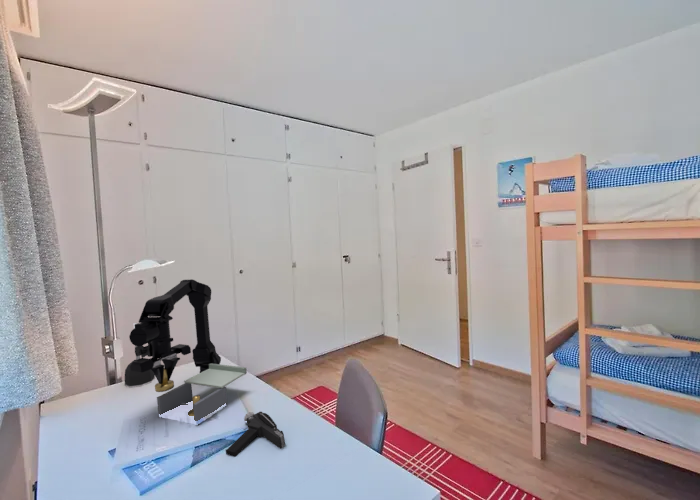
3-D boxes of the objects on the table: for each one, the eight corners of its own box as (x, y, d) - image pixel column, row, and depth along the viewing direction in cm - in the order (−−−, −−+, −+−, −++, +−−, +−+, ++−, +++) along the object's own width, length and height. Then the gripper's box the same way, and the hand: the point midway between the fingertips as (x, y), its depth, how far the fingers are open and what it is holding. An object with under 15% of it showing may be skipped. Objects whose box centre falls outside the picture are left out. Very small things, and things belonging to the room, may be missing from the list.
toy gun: (237, 460, 88) (289, 430, 97) (208, 425, 104) (255, 402, 113) (240, 477, 89) (291, 445, 98) (211, 439, 104) (258, 415, 114)
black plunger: (124, 381, 149) (119, 323, 148) (153, 374, 155) (149, 318, 154) (124, 390, 140) (119, 328, 138) (156, 382, 146) (151, 323, 144)
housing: (190, 400, 127) (188, 381, 127) (227, 407, 121) (225, 386, 121) (158, 419, 115) (156, 397, 115) (197, 427, 109) (196, 404, 109)
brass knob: (197, 410, 118) (196, 391, 118) (210, 413, 116) (209, 393, 116) (184, 419, 113) (182, 399, 113) (197, 421, 111) (195, 401, 111)
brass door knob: (166, 383, 122) (164, 365, 121) (177, 385, 120) (176, 367, 119) (151, 390, 117) (149, 371, 116) (163, 393, 114) (161, 373, 114)
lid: (211, 368, 137) (210, 363, 137) (246, 373, 131) (246, 367, 131) (184, 382, 125) (183, 376, 125) (221, 388, 119) (221, 382, 119)
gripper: (168, 327, 129) (171, 369, 130) (116, 343, 112) (121, 391, 113) (190, 329, 124) (193, 372, 125) (140, 346, 107) (144, 396, 108)
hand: (164, 382), depth 118 cm, fingers closed on brass door knob, 2 cm apart
